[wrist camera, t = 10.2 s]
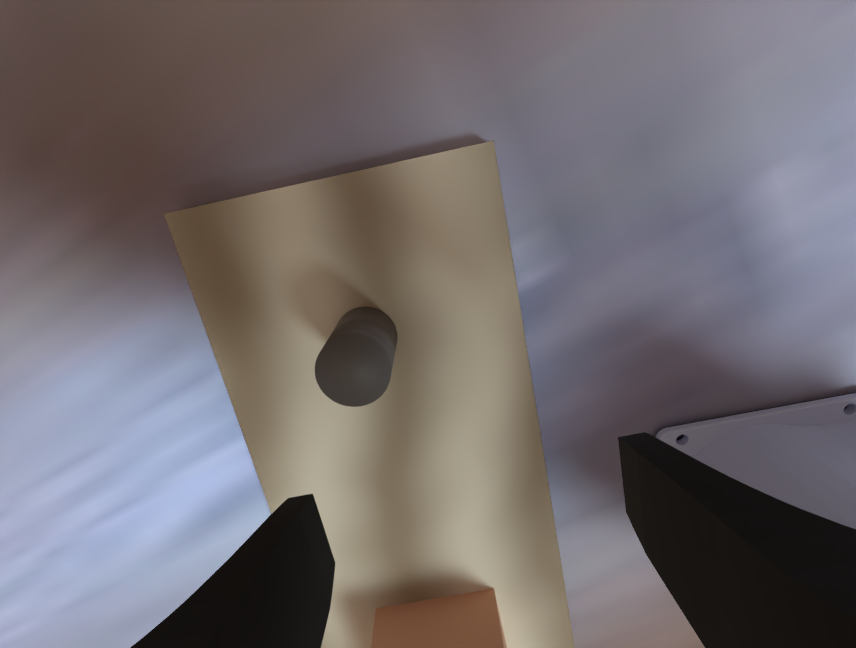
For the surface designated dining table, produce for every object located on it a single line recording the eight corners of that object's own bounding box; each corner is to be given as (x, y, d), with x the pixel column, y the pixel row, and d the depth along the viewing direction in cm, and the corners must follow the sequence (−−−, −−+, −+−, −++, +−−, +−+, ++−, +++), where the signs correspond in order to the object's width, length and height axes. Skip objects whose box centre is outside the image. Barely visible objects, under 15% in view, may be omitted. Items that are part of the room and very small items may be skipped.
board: (489, 142, 18) (511, 130, 13) (578, 691, 26) (611, 803, 21) (180, 211, 18) (97, 222, 14) (359, 725, 26) (345, 840, 22)
